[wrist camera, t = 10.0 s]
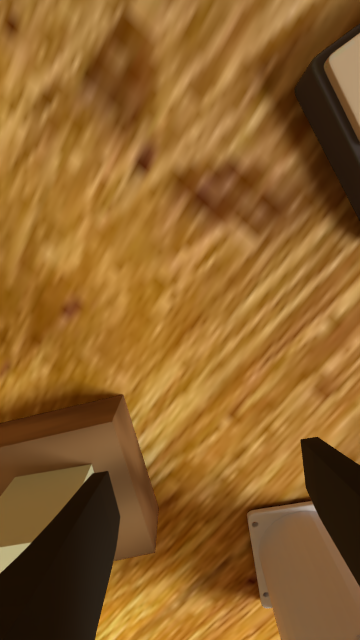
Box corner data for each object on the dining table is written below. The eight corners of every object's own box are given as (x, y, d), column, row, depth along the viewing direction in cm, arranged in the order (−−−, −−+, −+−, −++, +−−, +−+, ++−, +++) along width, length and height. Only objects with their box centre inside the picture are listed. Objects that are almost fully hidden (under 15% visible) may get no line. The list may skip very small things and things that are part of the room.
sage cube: (110, 530, 19) (86, 621, 15) (37, 541, 20) (-10, 635, 15) (91, 464, 18) (58, 538, 14) (14, 477, 19) (-45, 554, 14)
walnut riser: (158, 504, 24) (155, 552, 20) (41, 529, 24) (14, 581, 20) (124, 392, 22) (112, 421, 18) (-4, 422, 22) (-43, 457, 18)
